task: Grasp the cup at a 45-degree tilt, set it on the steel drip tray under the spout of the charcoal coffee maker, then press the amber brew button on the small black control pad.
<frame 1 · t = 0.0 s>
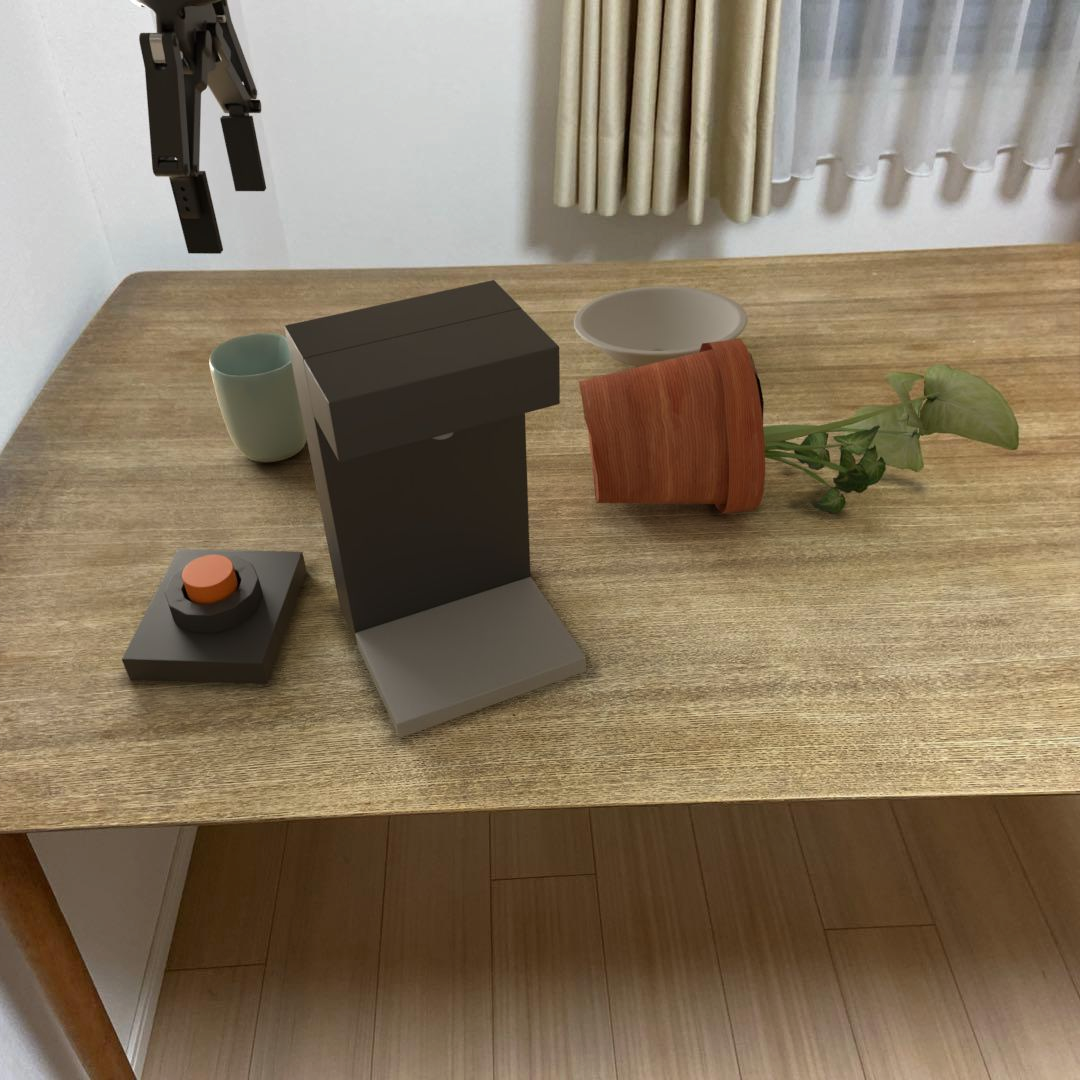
hand: (229, 219, 89), 19 cm above the table, tool pointing down, fingers open, 13 cm apart
cup: (275, 451, 95), on the table
control pad: (223, 623, 77), on the table
potted plant: (781, 492, 88), on the table
brew button: (210, 579, 74), point 4 cm above the table, slide at 0.1 cm
coffee maker: (458, 639, 75), on the table
dish: (657, 363, 106), on the table
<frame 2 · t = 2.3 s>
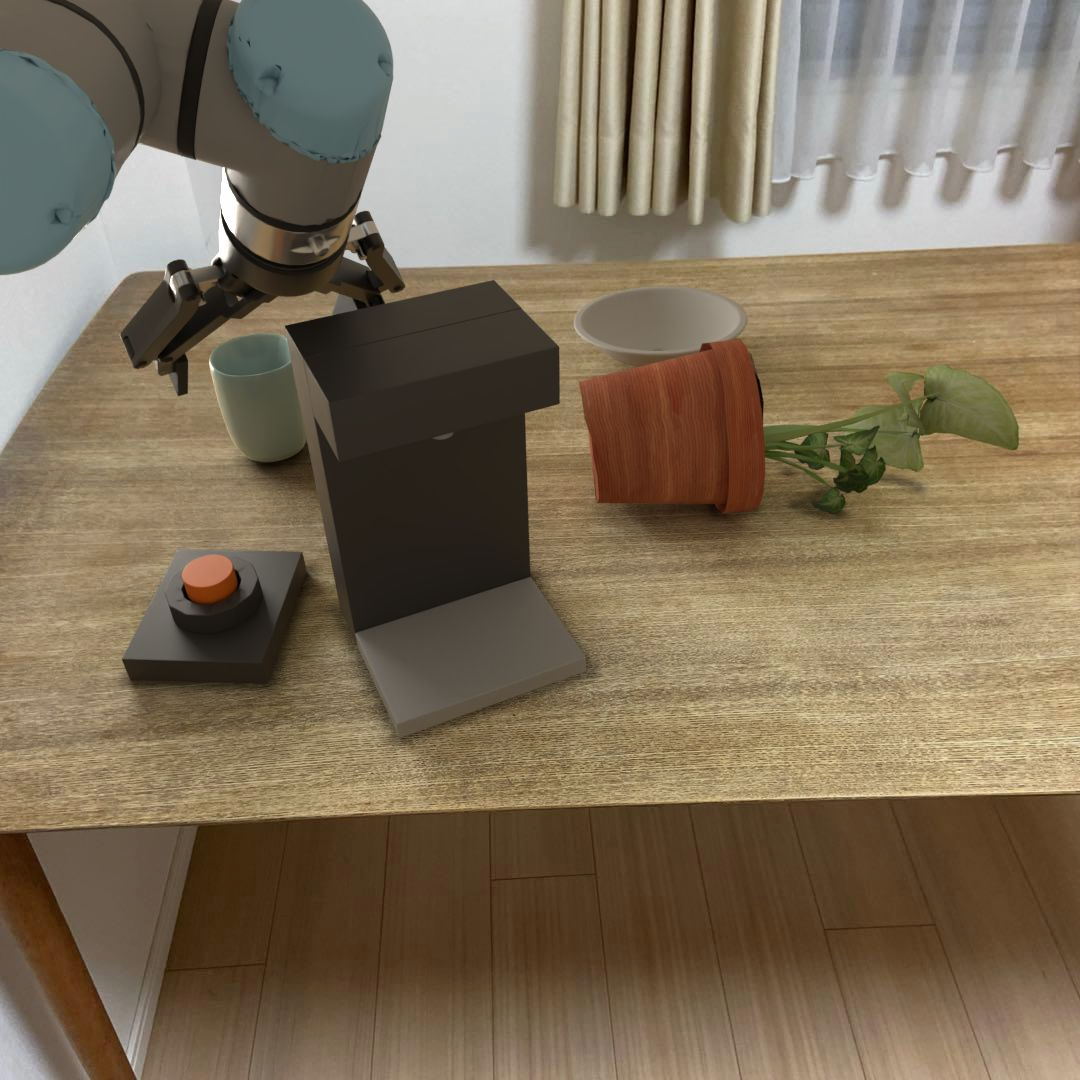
hand: (262, 353, 79), 14 cm above the table, tool tilted 40°, fingers open, 13 cm apart
nothing on the table moved.
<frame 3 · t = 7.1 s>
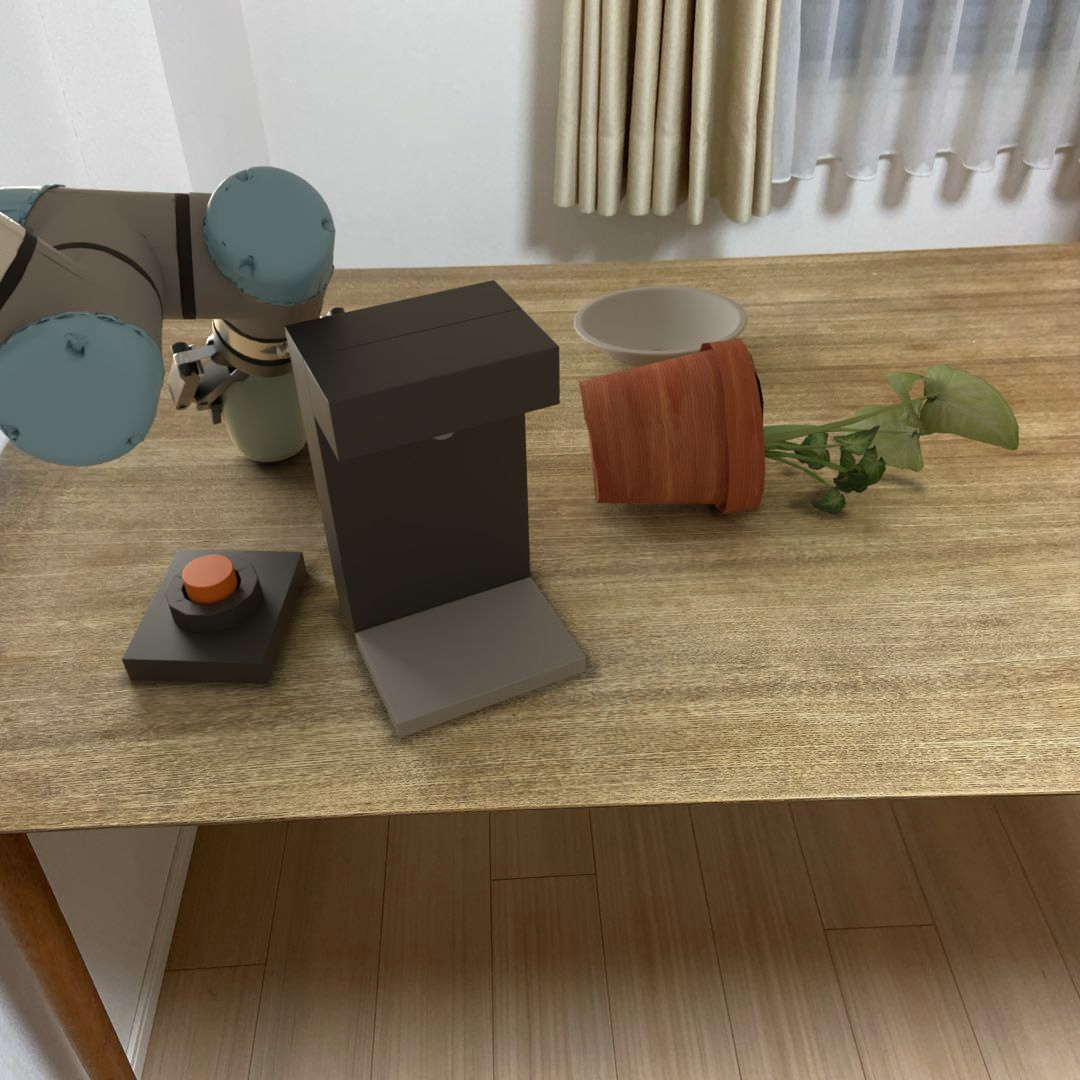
hand: (259, 398, 95), 4 cm above the table, tool tilted 45°, fingers closed on cup, 8 cm apart
cup: (275, 451, 95), on the table, touching gripper
everything else where it was.
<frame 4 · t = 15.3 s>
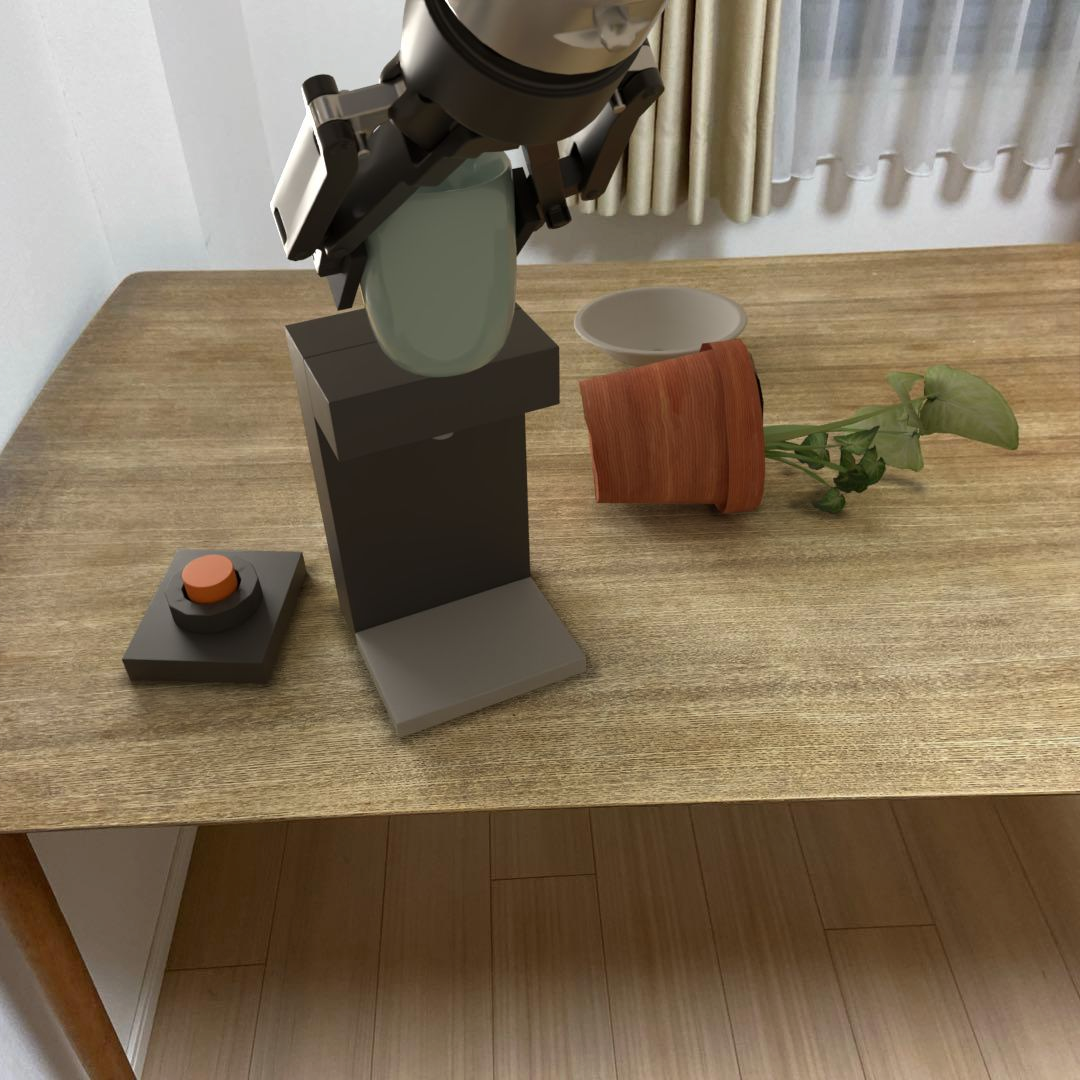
hand: (416, 267, 53), 31 cm above the table, tool tilted 45°, fingers closed on cup, 8 cm apart
cup: (445, 361, 53), point 27 cm above the table, touching gripper
everything else where it was.
when the fingers open (5 cm above the table, at t = 23.9 s): cup stays where it is, resting on coffee maker.
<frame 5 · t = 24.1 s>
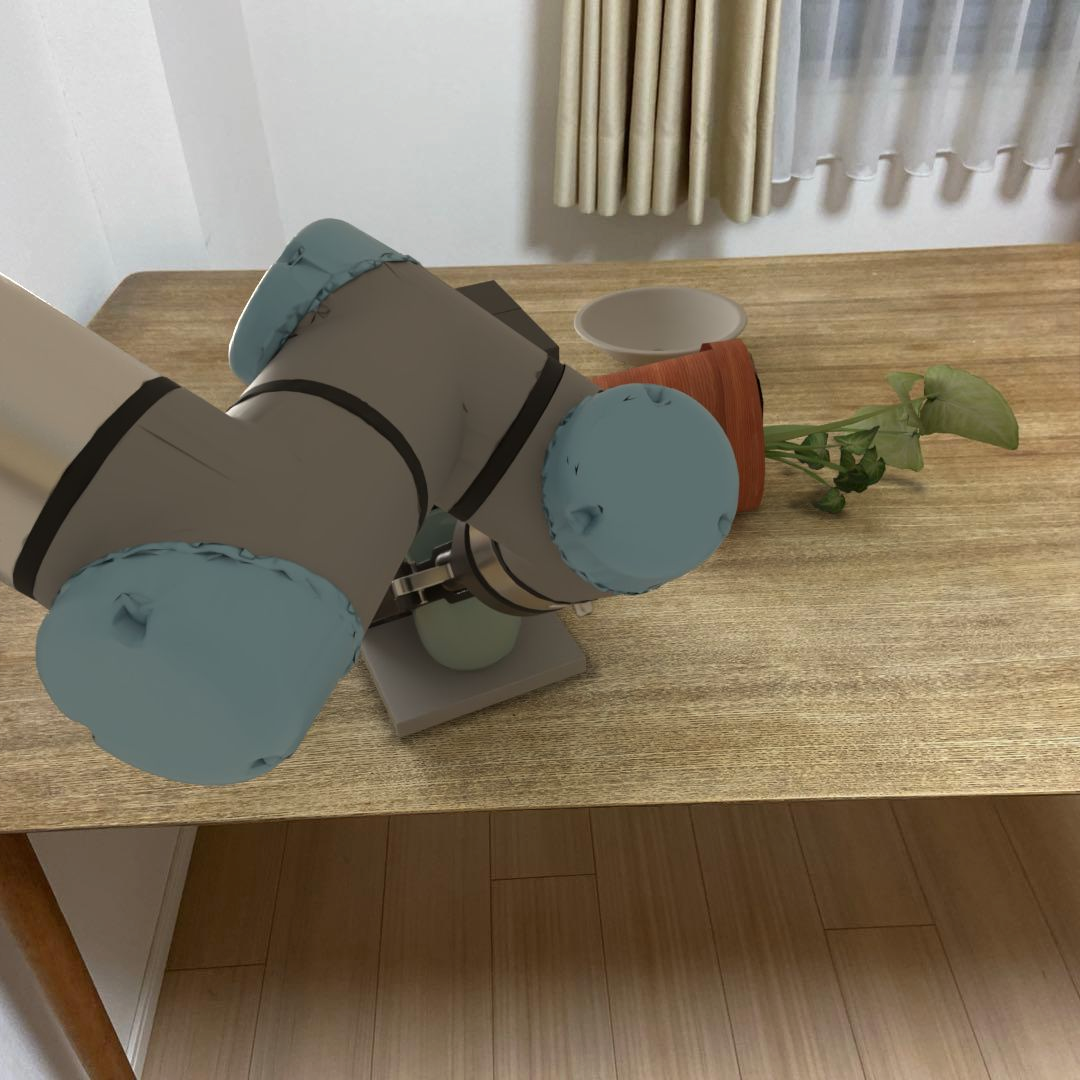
hand: (450, 582, 72), 5 cm above the table, tool tilted 45°, fingers open, 9 cm apart
cup: (470, 649, 72), point 1 cm above the table, touching coffee maker
everything else where it was.
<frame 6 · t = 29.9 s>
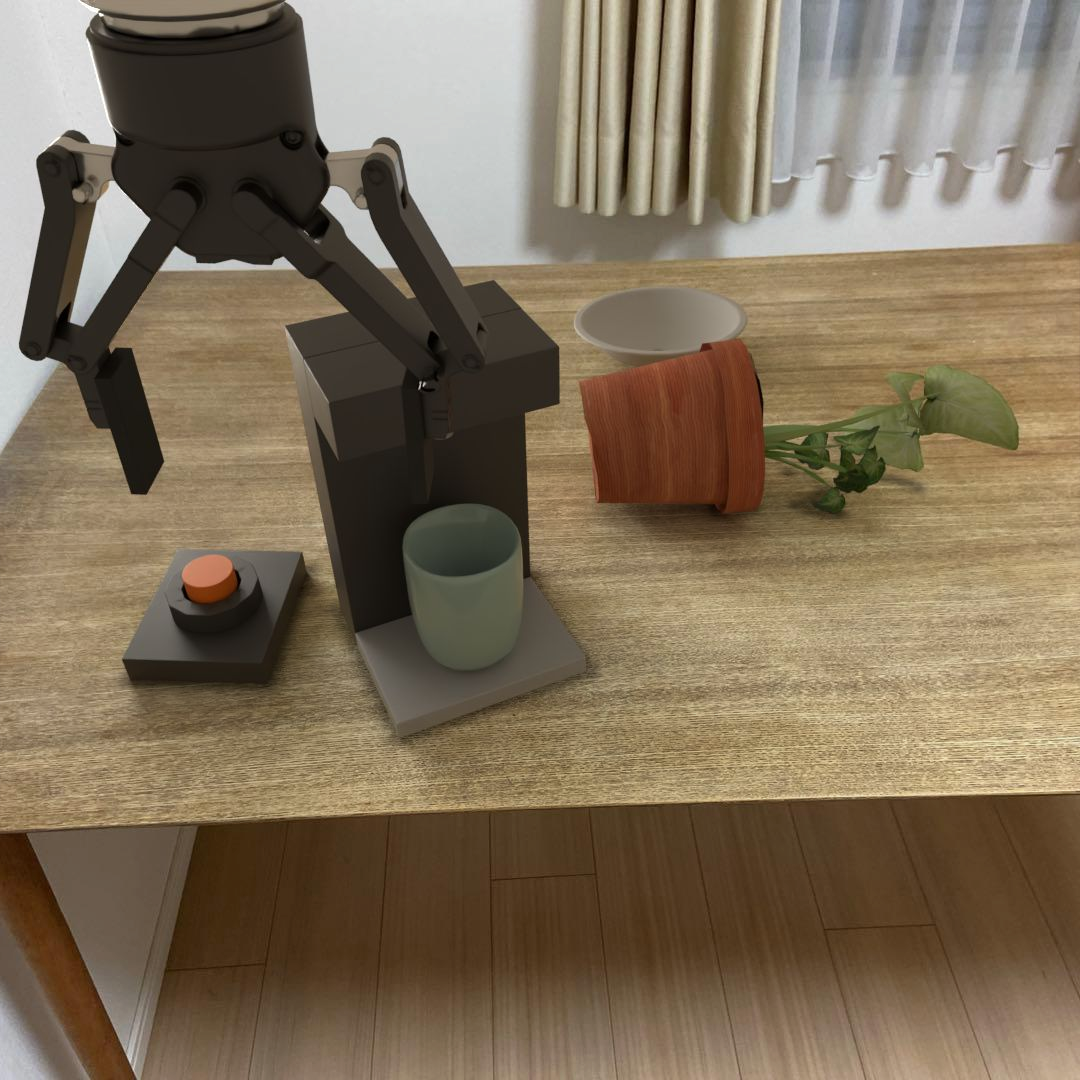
hand: (285, 482, 50), 24 cm above the table, tool pointing down, fingers open, 13 cm apart
nothing on the table moved.
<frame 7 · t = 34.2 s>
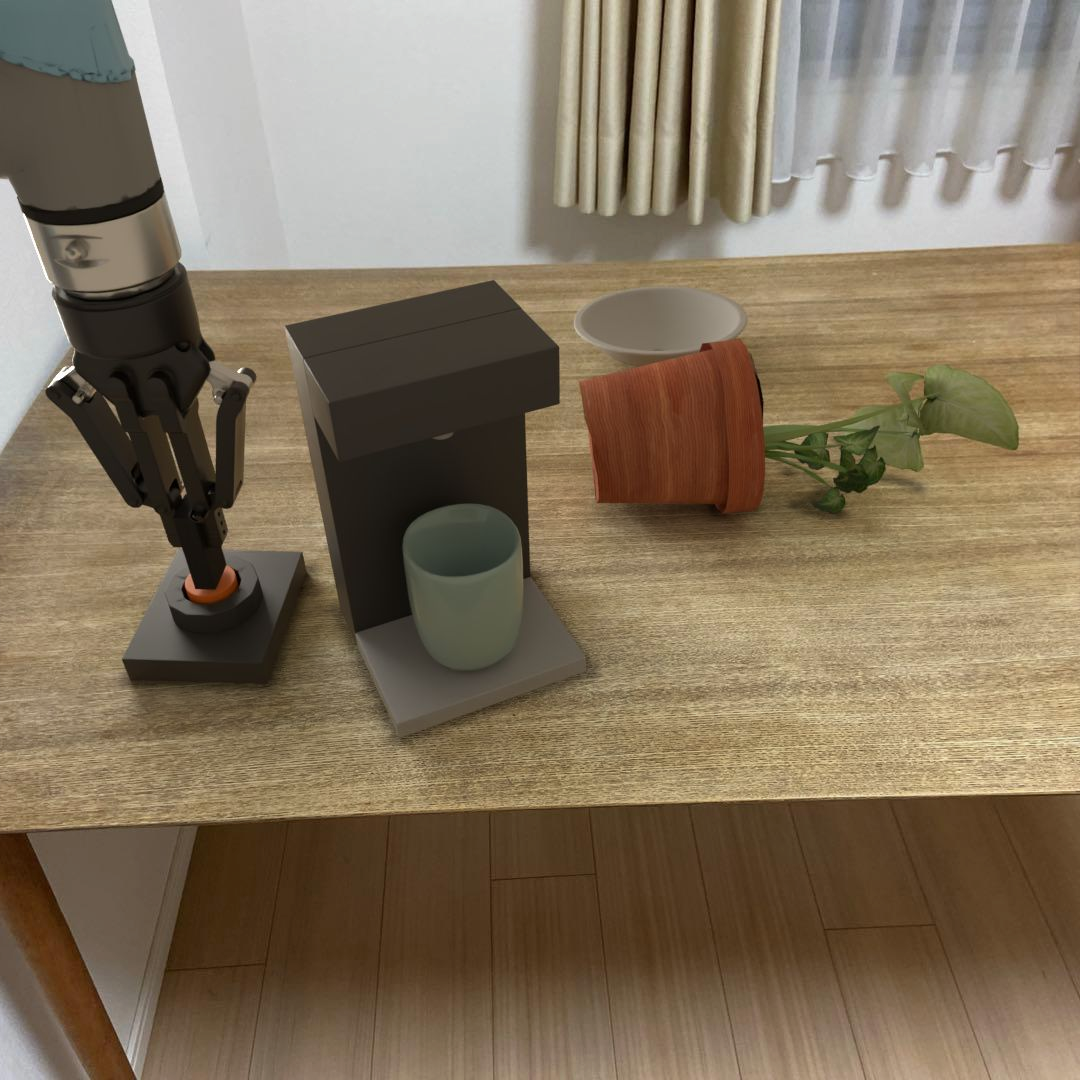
hand: (211, 576, 74), 5 cm above the table, tool pointing down, fingers closed
brew button: (212, 588, 75), point 4 cm above the table, slide at -0.8 cm, touching gripper
everything else where it was.
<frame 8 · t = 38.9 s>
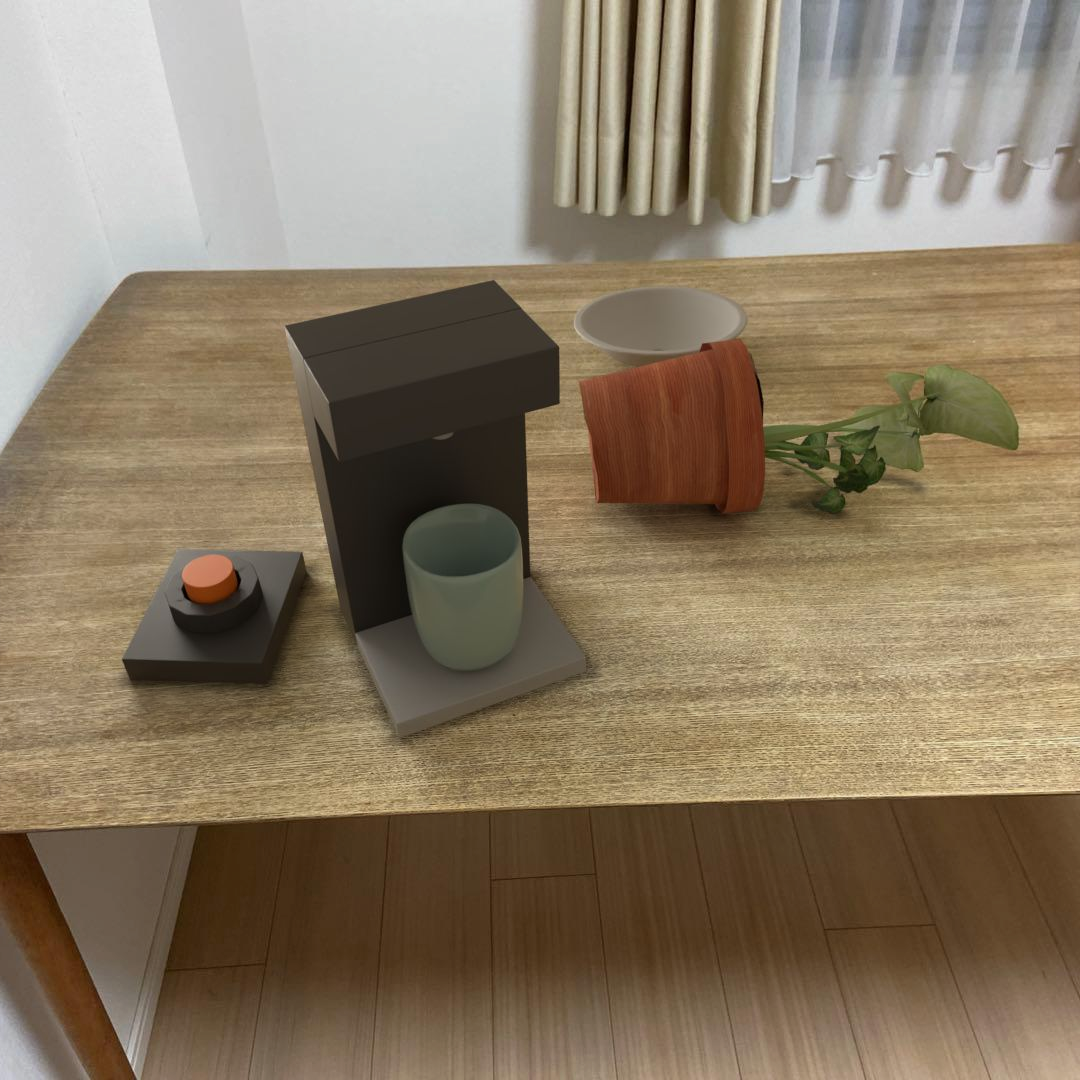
brew button: (210, 579, 74), point 4 cm above the table, slide at 0.1 cm
everything else where it was.
at the end: cup 0.1 cm from the target spot on the coffee maker, point 1.3 cm above the coffee maker's base; cup tilted 0°; brew button pushed in 1.0 cm at the most during the clip, back to where it started at the end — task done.
